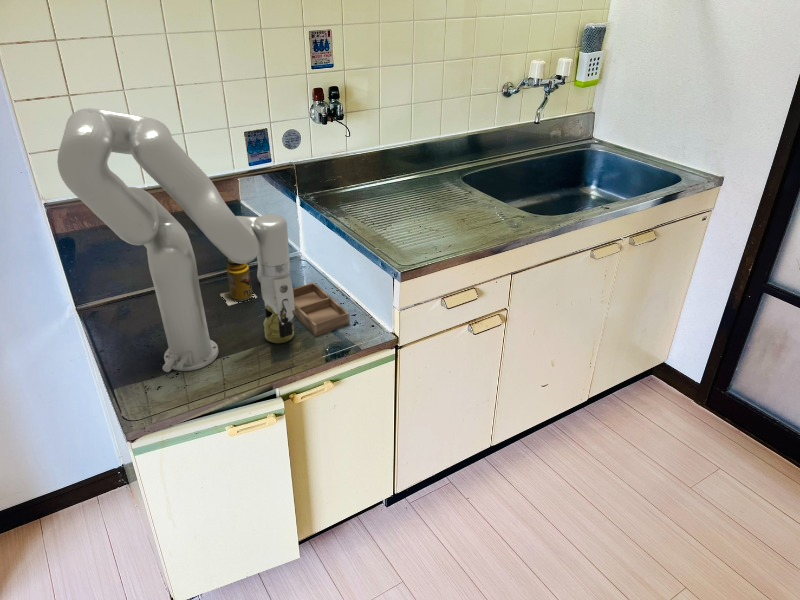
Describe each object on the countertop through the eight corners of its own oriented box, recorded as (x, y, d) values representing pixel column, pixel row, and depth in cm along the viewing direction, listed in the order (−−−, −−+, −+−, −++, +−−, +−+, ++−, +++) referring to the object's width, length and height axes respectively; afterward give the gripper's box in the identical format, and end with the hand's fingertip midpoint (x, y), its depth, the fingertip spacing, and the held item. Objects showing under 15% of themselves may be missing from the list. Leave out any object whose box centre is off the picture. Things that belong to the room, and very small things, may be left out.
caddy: (349, 324, 159) (349, 313, 157) (315, 336, 154) (314, 325, 152) (314, 293, 173) (314, 282, 171) (282, 303, 168) (281, 292, 166)
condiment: (257, 297, 171) (252, 260, 164) (228, 306, 167) (222, 268, 160) (248, 287, 176) (243, 250, 170) (219, 295, 172) (213, 257, 166)
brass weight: (294, 327, 157) (291, 294, 152) (294, 343, 151) (292, 309, 146) (265, 328, 156) (262, 295, 151) (264, 344, 150) (261, 310, 145)
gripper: (304, 277, 139) (308, 340, 148) (273, 249, 151) (278, 308, 160) (274, 285, 136) (280, 349, 145) (245, 255, 148) (251, 316, 157)
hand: (279, 327), depth 152 cm, fingers closed on brass weight, 7 cm apart
